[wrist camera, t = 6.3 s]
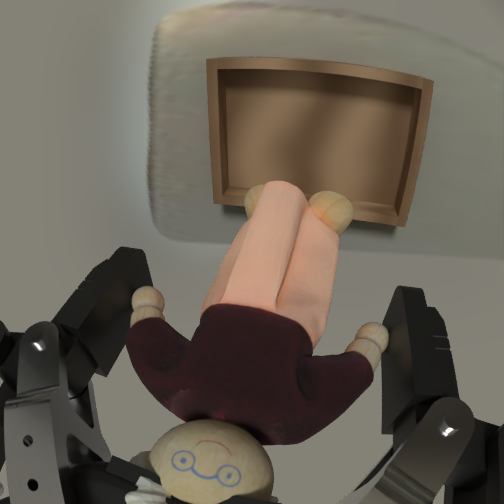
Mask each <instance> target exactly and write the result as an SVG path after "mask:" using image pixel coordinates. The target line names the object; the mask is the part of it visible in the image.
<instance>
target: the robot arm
mask: <svg viewBox="0 0 504 504" xmlns="http://www.w3.org/2000/svg"><path fill="white" fill-rule="evenodd" d="M143 286H151V287H153V283H152V279H151V275H150V272H149V268H148V264H147V260H146V256H145V253H144V251H143V250H141V249H135V248H129V247H120V248H118V249H117V250H116V251H115V253H114V254H113V255H112V256H111V257H110V259H109V260H108V259H106V260H105V261H103V262H102V263H100V264H99V265H97V266H96V267H95V268H93V270H92V271H91V272H90V273H89V274H88V275H87V277H86V278H85V281H83V282H82V283H81V284H80V285H79V286H78V290H77V289H76V290H75V291H74V293H73V294H72V295H71V296H70V298H69V299H68V300H67V302H66V303H65V304H64V305H63V307H62V308H61V309H60V311H59V312H58V313H57V315H56V316H55V317H54V318H53V320H52V321H51V322H48V321H43V322H38V323H36V324H34V325H32V326H30V327H29V328H28V329H27V330H26V331H25V333H18V332H9V331H8V329H7V328H6V327H5V325H4V323H3V322H2V321H0V378H1V379H2V380H3V383H2V385H1V387H0V471H1V469H2V466H3V464H4V462H5V460H6V471H7V481H8V489H9V497H6V498H4V499H1V500H0V504H127V503H126V501H125V496H126V494H128V493H129V492H131V491H136V490H138V486H135V484H136V483H137V481H138V479H139V478H140V476H142V477H145V478H148V479H150V480H152V481H153V482H155V483H157V484H159V485H161V486H162V484H161V479H160V477H159V476H157V475H156V474H154V473H153V472H151V471H150V470H148V469H145V468H142V467H140V466H137V465H135V464H132V463H130V462H127V461H125V460H122V459H120V458H118V457H115V456H111V453H110V451H109V448H108V446H107V444H106V442H105V440H104V438H103V437H102V434H101V430H100V426H99V420H98V414H97V408H96V402H95V396H94V389H93V383H92V381H91V377H92V375H93V374H94V373H96V374H99V375H102V376H105V377H107V375H108V374H109V372H110V370H111V368H112V366H113V365H114V363H115V361H116V359H117V358H118V356H119V354H120V352H121V351H122V349H123V347H124V345H125V336H126V333H127V332H128V330H129V329H130V324H131V315H132V313H133V312H134V310H133V307H132V296H133V294H134V292H135V291H136V290H137V289H139V288H141V287H143ZM382 325H383V326H385V328H386V329H387V330H388V333H389V342H388V346H387V348H386V349H385V351H384V352H382V353H381V367H382V434H393V445H392V446H391V447H390V448H389V449H388V451H387V452H386V453H385V454H384V455H383V457H382V458H381V459H380V460H379V461H378V463H377V464H376V465H375V466H374V467H373V468H372V469H371V470H370V472H369V473H368V474H367V475H366V476H365V477H364V478H363V479H362V480H361V481H360V483H359V484H358V485H357V486H356V487H355V488H354V489H353V490H352V491H351V492H350V493H349V494H348V495H347V496H345V497H344V498H343V499H342V500H341V501H339V502H338V503H337V504H432V503H433V500H434V498H435V496H436V495H437V493H438V491H439V490H440V489H441V487H442V486H443V485H445V493H444V504H504V424H503V425H502V426H497V425H494V424H490V423H487V422H484V421H481V420H478V419H476V418H474V415H473V413H472V411H471V409H470V408H469V406H468V405H467V404H466V403H464V402H463V401H462V400H460V398H459V393H458V387H457V381H456V375H455V369H454V364H453V359H452V354H451V351H450V344H449V339H447V336H448V335H447V331H446V326H445V323H444V320H443V319H442V317H441V315H440V314H439V313H438V311H437V310H436V308H435V307H427V304H426V300H425V296H424V292H423V290H422V289H421V288H415V287H407V286H397V288H396V289H395V292H394V295H393V297H392V300H391V303H390V305H389V308H388V310H387V313H386V315H385V318H384V320H383V323H382ZM3 491H4V488H3V485H2V483H1V482H0V496H1V495H2V494H3ZM165 501H166V503H167V504H190V503H186V502H184V501H181V500H179V499H178V498H176V497H175V496H173V495H171V498H168V497H166V500H165ZM217 504H281V503H275V502H269V501H263V500H257V499H252V498H247V497H242V496H237V495H233V496H231V497H230V498H229V499H227V500H225V501H222V502H220V503H217Z"/></svg>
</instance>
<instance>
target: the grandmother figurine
mask: <svg viewBox="0 0 504 504" xmlns="http://www.w3.org/2000/svg"><path fill="white" fill-rule="evenodd" d="M244 206H245V211H246V214H247V218H248V221H247V222H246V223H245V224H244V225H243V226H242V227H241V229H240V230H239V232H238V234H237V235H236V237H235V239H234V241H233V242H232V244H231V246H230V248H229V250H228V252H227V253H226V256H225V258H224V259H223V261H222V263H221V266H220V268H219V270H218V273H217V275H216V277H215V279H214V282H213V284H212V286H211V288H210V290H209V292H208V294H207V296H206V298H205V300H204V302H203V305H202V310H201V319H200V325H199V326H198V327H197V329H196V331H195V333H194V335H193V337H192V339H191V341H189V340H188V339H186V338H185V337H183V336H182V335H181V334H180V333H178V332H177V331H176V330H175V329H174V328H172V327H171V326H170V325H169V324H168V323H167V322H165V317H164V316H163V314H162V312H163V308H164V298H163V296H162V294H161V293H160V292H159V291H158V290H157V289H155V288H154V287H151V286H143V287H141V288H139V289H137V290H136V291H135V292H134V294H133V296H132V307H133V310H134V312H133V313H132V315H131V324H130V329H129V330H128V332H127V333H126V336H125V344H126V348H127V351H128V353H129V357H130V359H131V363H132V365H133V368H134V370H135V371H136V373H137V375H138V376H139V378H140V380H141V381H142V383H143V384H144V385H145V387H146V388H147V389H148V390H149V392H150V393H151V394H152V395H153V396H154V397H155V398H156V399H157V400H158V401H159V402H160V403H161V404H162V405H163V406H164V407H165V408H167V409H168V410H169V411H171V412H172V413H173V414H175V415H176V416H177V417H179V418H180V419H182V420H184V421H185V422H186V423H184V424H181V425H178V426H176V427H174V428H172V429H170V430H169V431H168V432H166V433H165V434H164V435H163V436H162V437H161V438H160V439H159V440H158V441H157V442H156V443H155V445H154V446H153V448H152V450H150V451H145V452H140V453H139V454H138V455H136V456H135V457H133V458H132V459H131V460H130V463H132V464H135V465H137V466H140V467H142V468H145V469H148V470H150V471H151V472H153V473H154V474H156V475H157V476H159V477H160V479H161V484H162V486H161V485H159V484H157V483H155V482H153V481H152V480H150V479H148V478H145V477H142V476H140V478H139V479H138V481H137V483H136V484H135V486H138V490H136V491H131V492H129V493H128V494H126V496H125V501H126V503H127V504H167V503H166V501H165V500H166V497H168V498H171V495H173V496H175V497H176V498H178V499H179V500H181V501H184V502H186V503H190V504H217V503H220V502H222V501H225V500H227V499H229V498H230V497H231V496H233V495H237V496H242V497H247V498H252V499H257V500H263V501H269V502H275V503H277V502H278V498H277V497H274V496H271V494H272V490H273V483H274V473H273V467H272V463H271V460H270V458H269V456H268V454H267V452H266V451H265V449H264V448H263V446H262V445H291V444H297V443H301V442H303V441H305V440H307V439H308V438H310V437H311V436H313V435H315V434H316V433H318V432H319V431H321V430H322V429H323V428H325V427H326V426H328V425H329V424H330V423H332V422H333V421H334V420H336V419H337V418H338V417H339V416H340V415H341V414H343V413H344V412H345V411H346V410H347V409H348V408H349V407H350V405H352V404H353V402H355V400H356V399H357V398H358V397H359V396H360V395H361V394H362V393H363V392H364V391H365V390H366V389H367V388H368V387H369V386H370V385H371V383H372V382H373V377H374V372H375V370H376V368H377V366H378V364H379V362H380V359H381V353H382V352H384V351H385V349H386V348H387V346H388V342H389V333H388V330H387V329H386V328H385V326H383V325H382V324H380V323H377V322H370V323H366V324H364V325H363V326H362V327H361V328H360V329H359V330H358V332H357V334H356V336H355V340H354V341H353V342H352V343H351V344H350V345H349V346H348V347H347V349H346V350H345V352H344V353H342V354H339V355H326V356H312V353H313V349H314V348H315V346H316V345H317V343H318V341H319V340H320V338H321V336H322V334H323V332H324V329H325V326H326V323H327V317H328V314H329V310H330V306H331V301H332V294H333V287H334V282H335V274H336V269H337V261H338V249H339V237H340V236H341V235H342V233H343V232H344V231H345V230H346V228H347V227H348V226H349V224H350V223H351V221H352V219H353V215H354V211H353V207H352V204H351V202H350V201H349V200H348V199H347V198H346V197H345V196H343V195H341V194H338V193H336V192H332V191H322V192H318V193H316V194H314V195H313V196H312V197H311V198H310V199H309V200H308V202H307V200H306V198H305V196H304V194H303V192H302V191H301V190H300V189H299V188H298V187H296V186H294V185H292V184H290V183H288V182H285V181H270V182H267V183H266V184H265V185H257V186H255V187H253V188H251V189H250V190H249V191H248V192H247V194H246V196H245V199H244Z"/></svg>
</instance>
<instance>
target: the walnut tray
mask: <svg viewBox="0 0 504 504" xmlns="http://www.w3.org/2000/svg"><path fill="white" fill-rule="evenodd" d="M206 65H207V92H208V115H209V135H210V153H211V169H212V185H213V200H214V204H223V205H234V206H244V199H245V196H246V194H247V192H248V191H249V190H250V189H251V188H253V187H255V186H257V185H265V184H266V183H267V182H270V181H285V182H288V183H290V184H292V185H294V186H296V187H298V188H299V189H300V190H301V191H302V192H303V194H304V196H305V198H306V200H307V202H308V200H309V199H310V198H311V197H312V196H313V195H314V194H316V193H318V192H322V191H332V192H336V193H338V194H341V195H343V196H345V197H346V198H347V199H348V200H349V201H350V202H351V204H352V207H353V211H354V215H353V220H360V221H367V222H374V223H381V224H388V225H395V226H401V227H405V225H406V221H407V217H408V214H409V210H410V206H411V202H412V198H413V194H414V190H415V186H416V181H417V177H418V172H419V168H420V163H421V158H422V153H423V148H424V143H425V137H426V131H427V126H428V119H429V113H430V106H431V99H432V91H433V83H434V81H432V80H429V79H426V78H423V77H419V76H415V75H411V74H406V73H401V72H396V71H391V70H386V69H381V68H375V67H369V66H362V65H356V64H348V63H340V62H332V61H322V60H311V59H297V58H276V57H223V58H212V59H206ZM244 207H245V206H244Z"/></svg>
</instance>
